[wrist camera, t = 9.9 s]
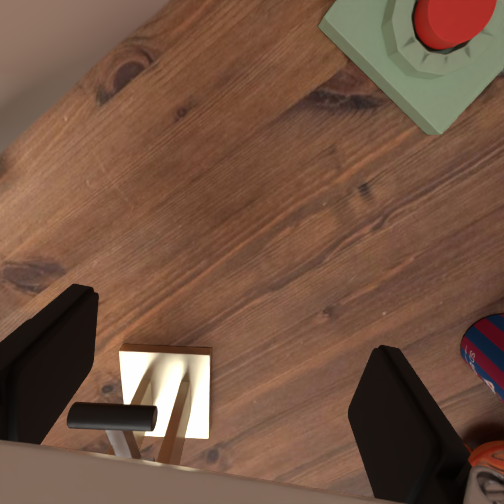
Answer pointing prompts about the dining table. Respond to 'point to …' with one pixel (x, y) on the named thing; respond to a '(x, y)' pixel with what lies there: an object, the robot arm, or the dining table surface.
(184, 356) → the switch bracket
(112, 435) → the switch lever
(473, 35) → the button
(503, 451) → the pot
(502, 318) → the cup
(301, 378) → the dining table surface
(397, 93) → the switch box
